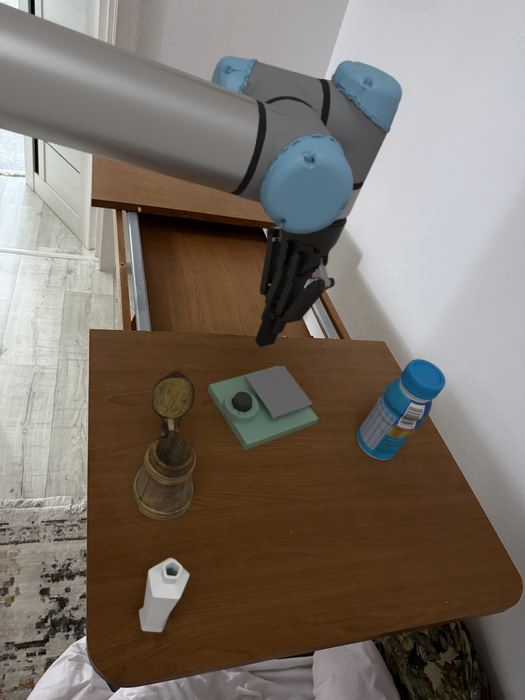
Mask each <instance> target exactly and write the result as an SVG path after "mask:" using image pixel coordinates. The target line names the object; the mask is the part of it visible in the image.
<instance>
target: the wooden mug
mask: <svg viewBox="0 0 525 700" xmlns="http://www.w3.org/2000/svg"><path fill="white" fill-rule="evenodd" d="M195 391H196V390H195V387H194V384H193V383H192V381H191V379H190V378H188V377H187V375H185V374H183V373H182V371H179V370H177V369H174V370H173V371H171V372H169V373H168V374H165V376H163V377H162V378H161V379H159V380H158V381H157V382H156V383H155V385H154V386H153V389H152V393H151V407H152V410H153V411H154V413H155V414H156V415H157V416H158V417H159V419H161V421H160V428H159V429H160V430H159V433H161V434H160V436H159V437H158V438H156V439H155V440H154V441H153V442H152V443H151V444H150V445H149V447H148V448H147V450H146V452H145V454H144V455H143V456H144V457H143V465H142V467H141V468H140V469H139V470H138V471H137V473H136V476H135V477H134V481H133V483H132V486H131V487H132V495H133V500H134V502H135V504H136V507H137V509H138V510H139V512H141V514H142V515H145V516H146V517H148V518H150V519H153V520H157V521H170V520H171V521H172V520H173V519H175V518H179V517H180V516H182V515H183V514H185V513H186V512H187V510H188V509H189V508H190V506H191V503H192V501H193V493H194V486H193V474H194V472H195V469H196V453H195V447H194V444H193V443H192V442H191V441H190V440H189V439H187V438H185V437H184V436H181V435H179V434H178V433H179V432H180V427H181V425H180V424H181V418H182V417H184V416H186V415H187V414H188V413H189V412H190V410H192V408H193V406H194V402H195V398H196V397H195V396H196V393H195Z"/></svg>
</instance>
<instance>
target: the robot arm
mask: <svg viewBox="0 0 525 700" xmlns="http://www.w3.org/2000/svg"><path fill="white" fill-rule="evenodd" d="M402 97H403V89H402V86H401V84H400V83H399V81H398V80H396V78H394V76H392V75H391V74H389V73H387V72H385V71H383V70H382V69H379V68H378V67H375V66H373V65H370V64H367V63H364V62H361V61H354V60H353V61H352V60H343V61H341V62H340V63H339V64H338V65H337V67H336V69H335V71H334V73H332V74H331V76H330V79H326V78H320V77H319V78H318V77H315V76H311V75H308V74H303V73H300V72H298V71H297V72H296V71H292V70H289V69H286V68H281V67H279V66H275V65H272V64H268V63H264V62H261V61H258V58H257V59H256V58H252V59H251V58H246V57H245V58H244V57H240V56H234V55H225V56H223V57H222V58H220V59H219V60H218V62H217V63H216V65H215V68H214V70H213V73H212V76H211V80H208V79H205V78H202V77H199V76H197V75H194V74H191V73H188V72H186V71H184V70H181V69H178V68H175V67H172V66H170V65H168V64H165V63H162V62H160V61H157V60H155V59H152V58H149V57H146V56H143V55H141V54H138V53H136V52H133V51H131V50H128V49H125V48H122V47H120V46H117V45H115V44H113V43H109V42H107V41H105V40H101V39H99V38H96V37H93V36H91V35H88V34H86V33H83V32H80V31H77V30H75V29H72V28H70V27H67V26H64V25H61V24H59V23H57V22H54V21H51V20H49V19H45V18H43V17H40V16H38V15H35V14H33V13H30V12H27V11H25V10H22V9H19V8H16V7H14V6H11V5H9V4H7V3H3V2H1V1H0V129H1V130H4V131H6V132H7V131H8V132H12V133H15V134H19V135H22V136H26V137H29V138H32V139H36V140H40V141H43V142H45V143H46V142H47V143H51V144H54V145H57V146H60V147H63V148H68V149H71V150H75V151H79V152H82V153H85V154H89V155H93V156H96V157H100V158H103V159H106V160H107V159H108V160H111V161H114V162H118V163H121V164H125V165H129V166H131V167H135V168H138V169H142V170H146V171H149V172H153V173H157V174H160V175H164V176H166V177H170V178H174V179H177V180H181V181H185V182H187V183H190V184H191V183H192V184H195V185H199V186H202V187H206V188H209V189H212V190H216V191H219V192H223V193H227V194H229V195H232V196H233V195H234V196H236V197H240V198H241V199H245V200H249V201H253V202H256V203H260V206H261V207H262V209H263V211H264V213H265V214H266V216H268V218H269V219H270V220H271V221H272V223H274V224H275V225H276V226H272V227H270V226H269V227H267V228H266V250H265V255H264V262H263V268H262V273H261V280H260V285H259V294H260V295H261V296H264V305H265V306H264V308H263V311H262V313H261V316H260V320H261V323H260V326H259V329H258V331H257V333H256V336H255V339H254V342H255V343H256V344H257V345H258V347H259V348H262V347H266V346H270V345H274V344H275V343H276V340H277V338H278V335H279V334H282V333H283V332H284V330H285V327H286V325H287V324H290V323H294V322H299V321H302V319H303V318H304V317H305V316H306V315H307V313H308V312H309V310H311V308H312V307H313V306H314V304H315V303H316V302H317V301H318V299H319V298H320V297H321V296H322V295H323V293H324V292H326V291H327V290H329V289H332V288H334V287H335V285H336V280H335V279H334V277H329V275H328V272H327V268H326V267H327V265H328V264H329V256H330V255H329V254H330V251H331V250H332V249H333V248H334V247H335V246H336V245H337V243H338V242H339V239H340V237H341V235H342V233H343V230H344V228H345V226H346V224H347V221H348V219H347V218H348V217H349V216H350V214H351V212H352V210H353V208H354V206H355V204H356V202H357V199H358V197H359V195H360V193H361V191H362V188H363V186H364V184H365V181H366V180H367V178H368V175H369V173H370V171H371V169H372V166H373V165H374V162H375V161H376V158H377V156H378V155H379V152H380V150H381V148H382V145H383V143H384V142H385V140H386V137H387V135H388V134H389V133H390V131H391V127H392V125H393V122H394V119H395V117H396V114H397V113H398V109H399V105H400V102H401V101H402ZM313 274H314V275H313ZM308 281H309V283H308V284H307V282H308ZM306 284H307V285H306Z"/></svg>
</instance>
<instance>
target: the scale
mask: <svg viewBox="0 0 525 700" xmlns="http://www.w3.org/2000/svg"><path fill="white" fill-rule="evenodd" d="M277 367H280V365H276V366H272V367H268V368H265V369H262V370H257V371H254V372H251V373H247V374H243V375H239V376H236V377H231V378H229V379H225V380H221V381H218V382H214V383H210V384H209V385H208V387H207V389H206V391H207V393H208V394H209V396H210V397H211V398H212V400H213V402H214V404H215V405H216V407H217V408H218V410H219V411H220V413H221V415H222V416H223V418H224V419H225V421H226V422H227V424H228V426H229V428H230V429H231V431H232V432H233V434H234V436H235V437H236V439H237V441H238V442H239V444H240V445H241V446H242V448H243V450H244V451H247V450H250V449H252V448H256V447H258V446H260V445H263V444H266V443H268V442H271V441H274V440H277V439H279V438H282V437H284V436H287V435H290V434H292V433H295V432H298V431H301V430H304V429H306V428H308V427H311V426H315V425H316V424H317V423H318V421H319V417H318V416H317V415H316V413H315V412H314V410H313V409H312V407H311V406H310V407H307V408H305V409H302V410H299V411H296V412H293V413H290V414H287V415H284V416H281V417H278V418H276V419H272V418H271V416H270V415H269V413H268V412H267V410H266V409H265V407H264V406H263V404H262V403H261V402H260V400H259V399H258V397H257V396H256V394H255V393H254V391H253V390H252V388H251V387H250V386H249V384H248V383H247V381H246V380H245V376H248V375H251V374H255V373H259V372H262V371H266V370H270V369H273V368H277ZM238 392H247V393H248V394H250V395H251V397H252V399H253V401H252V404H251V406H250V409H249V410H248V411H246V412H240V411H238V410H236V409H235V408H234V407H233V400H234V397H235V395H236V393H238Z"/></svg>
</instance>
